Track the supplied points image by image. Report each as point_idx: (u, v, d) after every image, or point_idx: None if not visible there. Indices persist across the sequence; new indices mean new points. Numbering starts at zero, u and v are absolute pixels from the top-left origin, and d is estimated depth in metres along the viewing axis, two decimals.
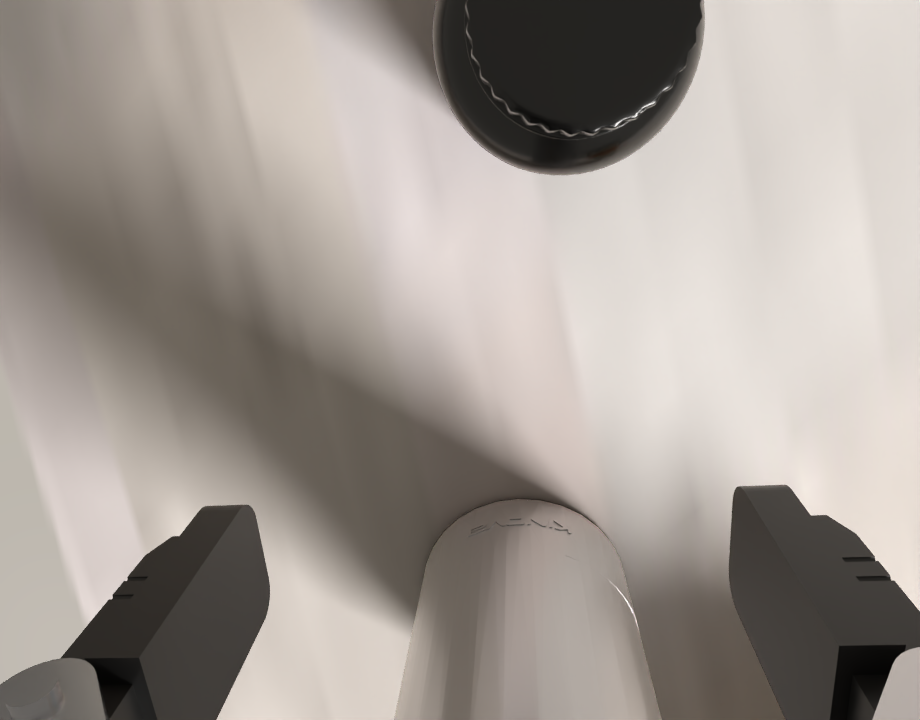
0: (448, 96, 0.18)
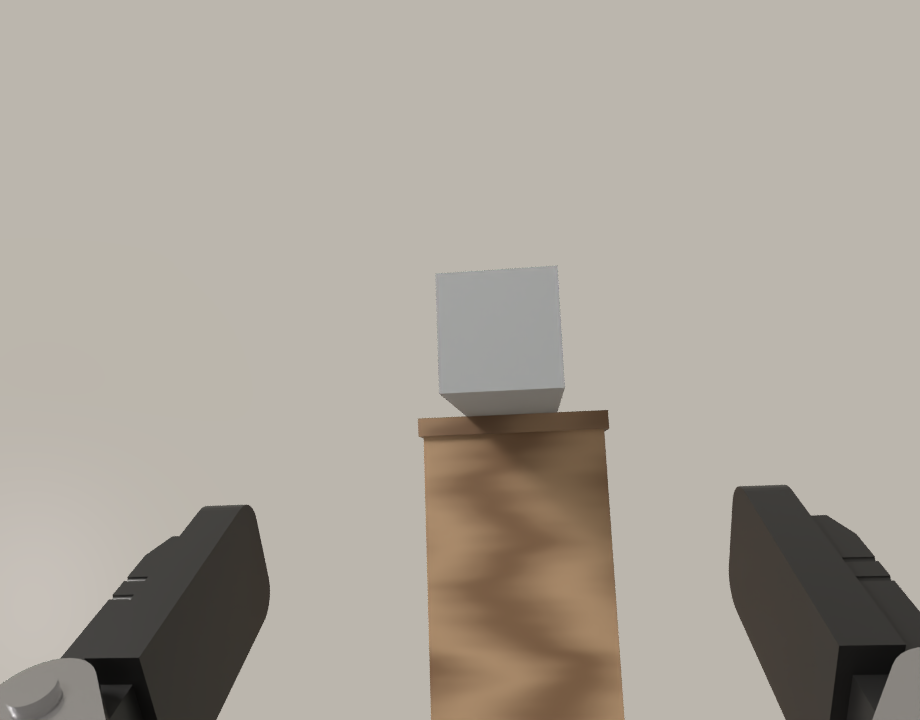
0: None
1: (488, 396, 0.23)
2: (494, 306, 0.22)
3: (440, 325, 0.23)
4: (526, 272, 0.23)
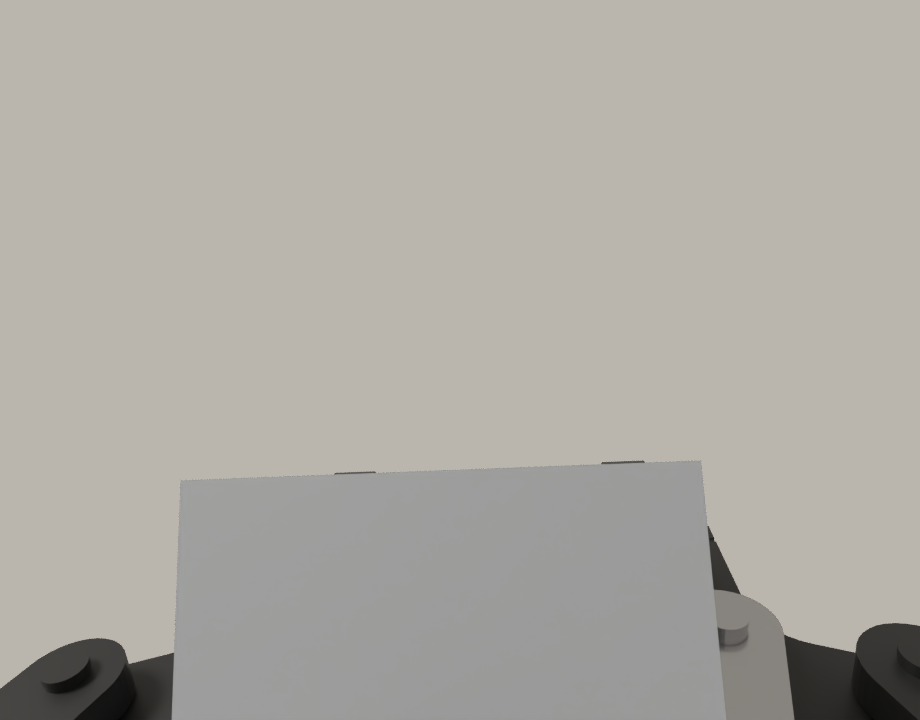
0: None
1: None
2: (423, 640, 0.05)
3: (187, 718, 0.05)
4: (565, 489, 0.05)
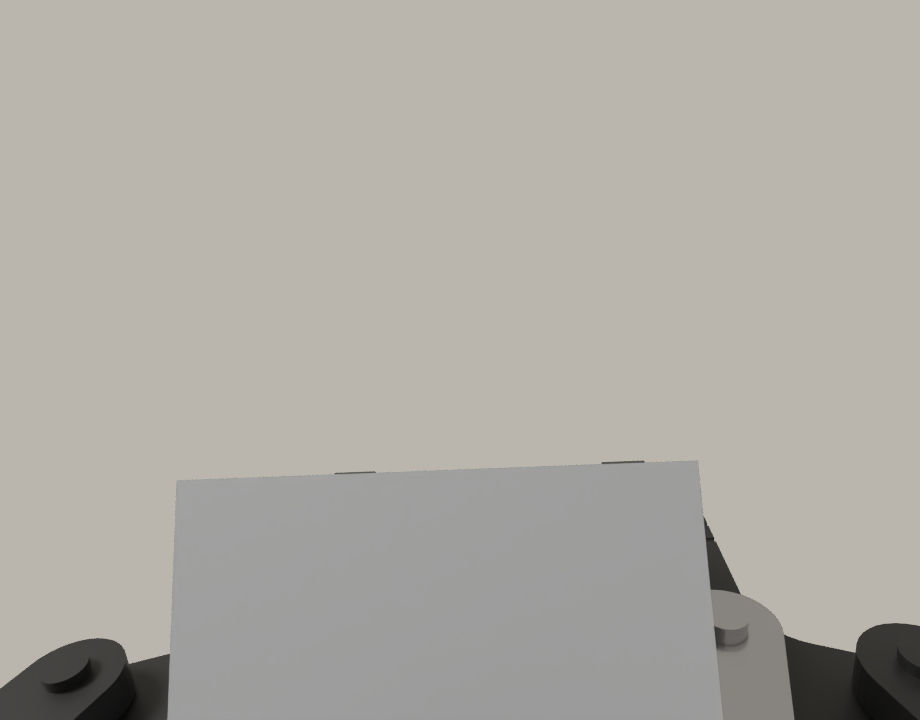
0: None
1: None
2: (418, 640, 0.05)
3: (183, 718, 0.05)
4: (561, 489, 0.05)
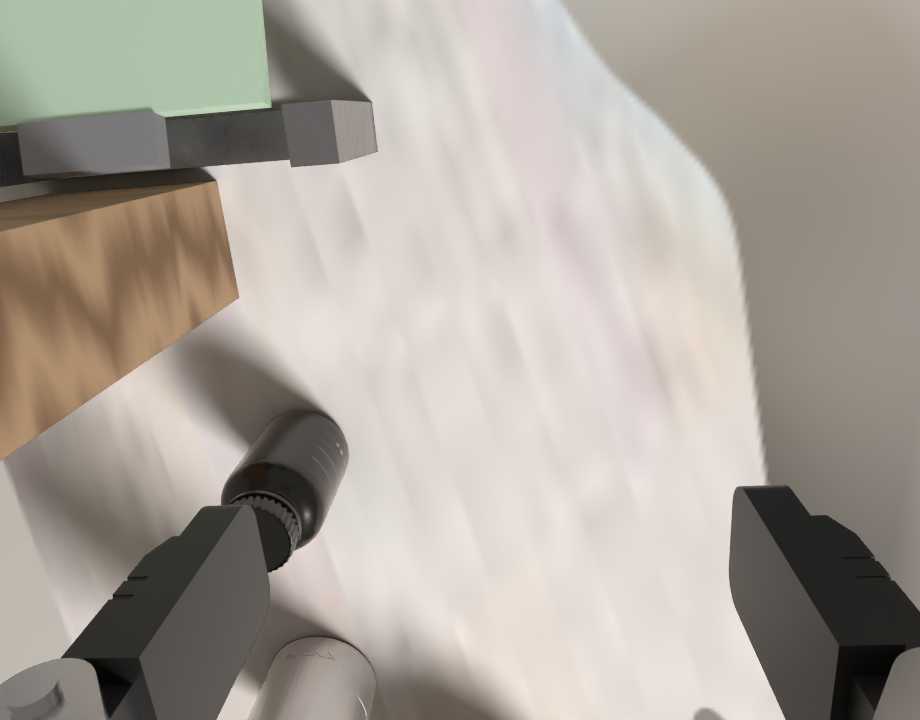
0: None
1: None
2: None
3: None
4: None
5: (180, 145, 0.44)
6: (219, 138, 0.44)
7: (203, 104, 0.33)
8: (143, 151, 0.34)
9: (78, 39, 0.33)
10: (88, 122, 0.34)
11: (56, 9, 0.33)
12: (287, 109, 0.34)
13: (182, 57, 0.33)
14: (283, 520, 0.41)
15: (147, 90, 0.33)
